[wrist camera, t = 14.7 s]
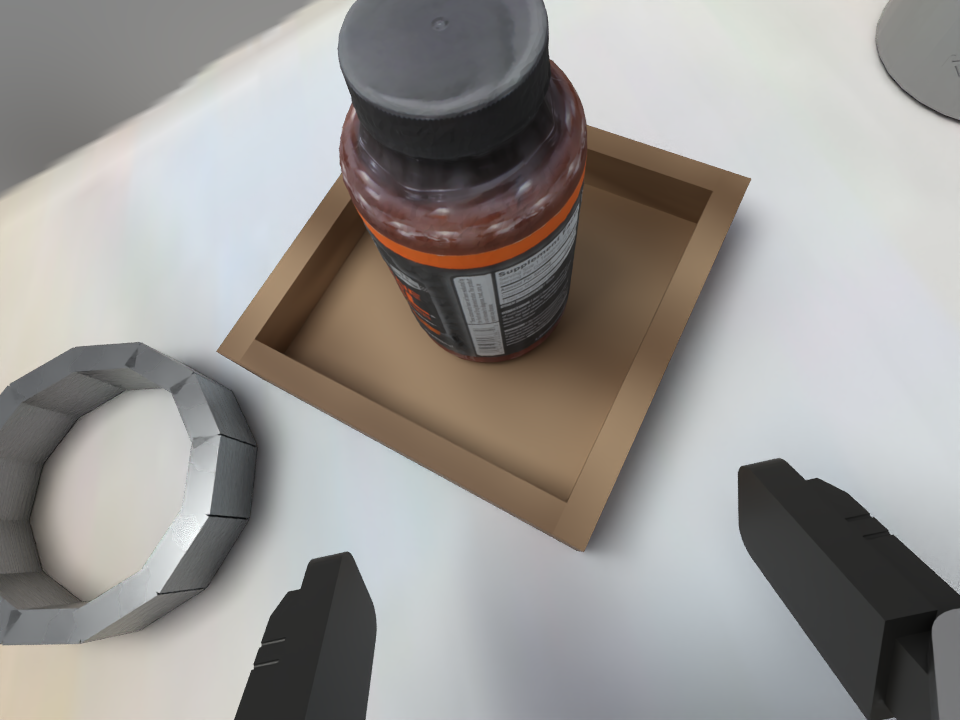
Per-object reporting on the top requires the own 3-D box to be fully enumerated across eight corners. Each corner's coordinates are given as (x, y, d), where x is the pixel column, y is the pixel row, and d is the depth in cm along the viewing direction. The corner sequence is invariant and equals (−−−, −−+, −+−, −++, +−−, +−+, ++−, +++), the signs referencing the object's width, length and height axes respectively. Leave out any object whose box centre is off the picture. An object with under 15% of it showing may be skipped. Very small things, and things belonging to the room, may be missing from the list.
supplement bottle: (390, 273, 21) (238, -4, 10) (519, 205, 21) (500, -128, 11) (459, 398, 19) (357, 212, 8) (599, 320, 19) (673, 48, 9)
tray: (429, 122, 25) (414, 68, 22) (723, 227, 21) (751, 178, 18) (259, 376, 21) (216, 351, 18) (577, 550, 18) (583, 552, 15)
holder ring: (121, 328, 23) (73, 303, 20) (304, 432, 20) (273, 417, 18) (-43, 543, 20) (-120, 543, 18) (141, 691, 18) (81, 713, 15)
